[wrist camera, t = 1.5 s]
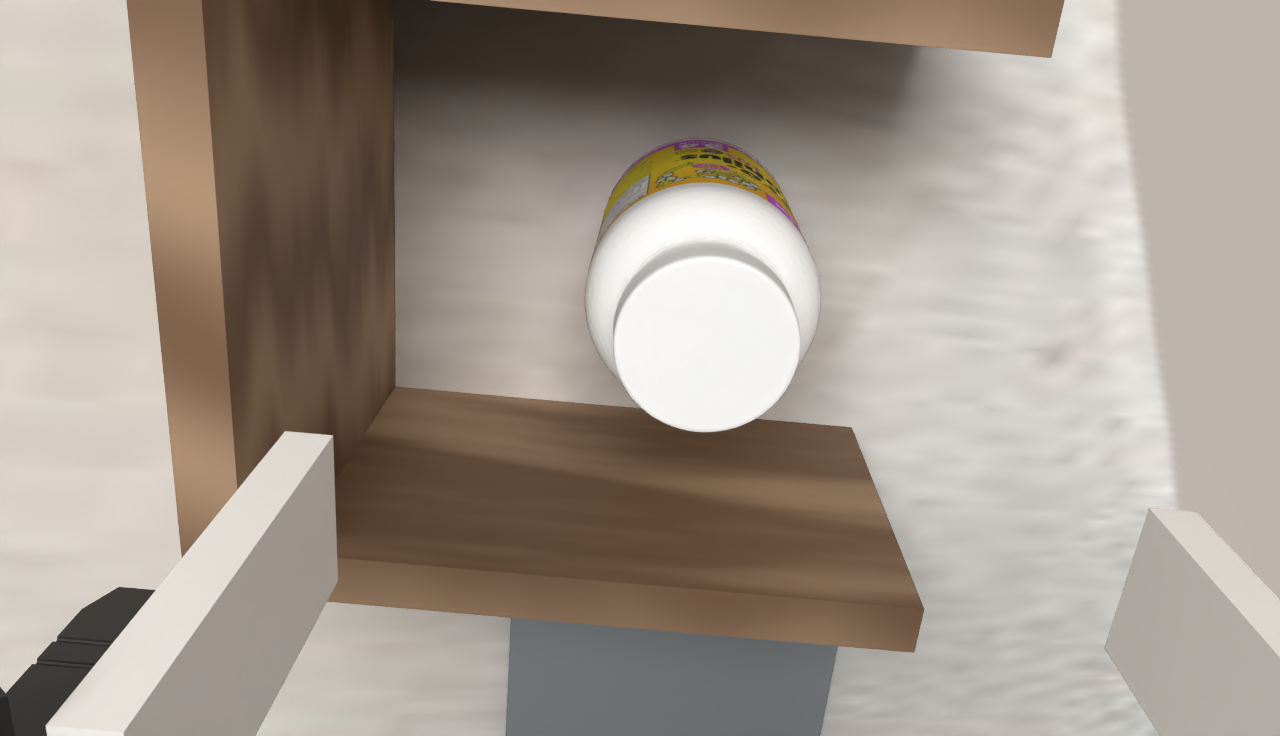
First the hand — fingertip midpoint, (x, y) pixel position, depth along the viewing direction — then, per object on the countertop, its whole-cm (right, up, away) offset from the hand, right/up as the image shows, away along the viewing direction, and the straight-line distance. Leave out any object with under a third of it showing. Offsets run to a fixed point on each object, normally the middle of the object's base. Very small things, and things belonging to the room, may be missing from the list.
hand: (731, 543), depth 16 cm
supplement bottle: (+1, +8, +21) cm, 22 cm away
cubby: (-2, +8, +20) cm, 22 cm away
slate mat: (0, -10, +27) cm, 29 cm away
